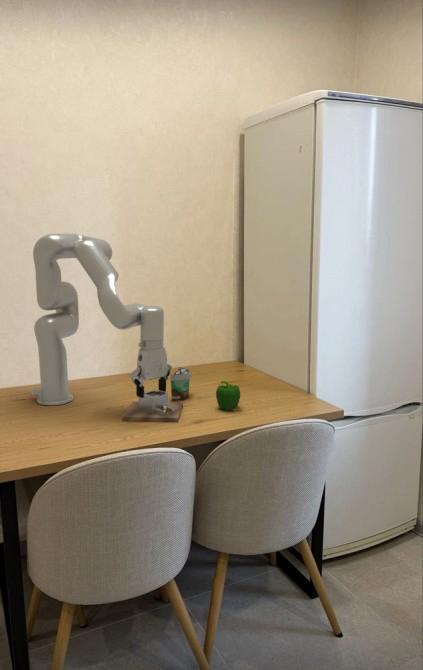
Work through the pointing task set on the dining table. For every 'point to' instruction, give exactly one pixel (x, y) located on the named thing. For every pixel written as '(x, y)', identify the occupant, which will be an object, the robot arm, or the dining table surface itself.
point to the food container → (180, 384)
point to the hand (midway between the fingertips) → (151, 393)
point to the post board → (141, 416)
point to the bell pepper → (228, 396)
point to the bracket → (155, 403)
